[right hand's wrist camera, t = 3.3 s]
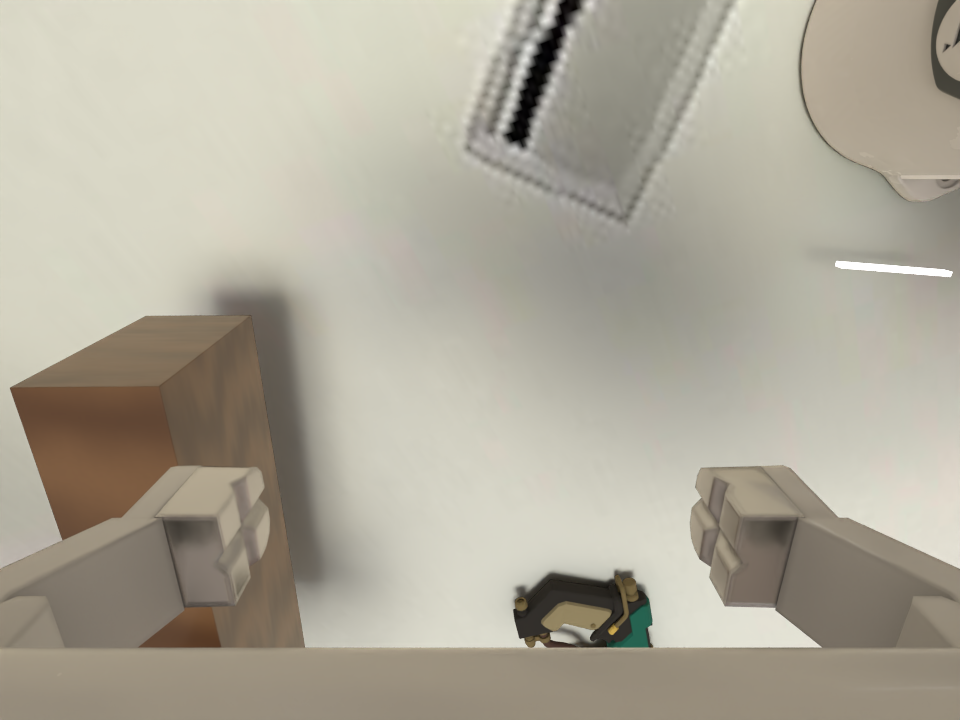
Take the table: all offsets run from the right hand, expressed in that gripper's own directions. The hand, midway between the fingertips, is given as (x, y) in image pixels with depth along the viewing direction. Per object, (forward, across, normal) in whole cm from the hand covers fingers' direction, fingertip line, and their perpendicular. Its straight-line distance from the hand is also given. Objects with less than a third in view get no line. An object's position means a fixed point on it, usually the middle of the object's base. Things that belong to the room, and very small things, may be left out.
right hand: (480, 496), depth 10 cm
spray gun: (+29, +10, -36) cm, 47 cm away
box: (+22, -16, -16) cm, 31 cm away
